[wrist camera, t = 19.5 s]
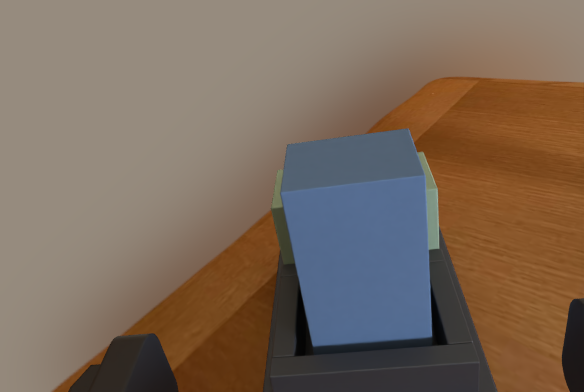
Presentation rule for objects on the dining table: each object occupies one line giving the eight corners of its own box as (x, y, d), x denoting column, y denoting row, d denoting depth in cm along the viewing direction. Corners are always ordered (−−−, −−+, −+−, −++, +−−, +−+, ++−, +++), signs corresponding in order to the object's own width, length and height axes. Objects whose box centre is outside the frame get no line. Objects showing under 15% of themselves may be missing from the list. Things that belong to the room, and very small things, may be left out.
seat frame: (507, 446, 20) (518, 308, 16) (263, 458, 21) (222, 333, 18) (435, 232, 33) (432, 127, 29) (286, 247, 34) (264, 149, 30)
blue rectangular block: (433, 375, 22) (425, 175, 17) (319, 382, 22) (279, 192, 17) (418, 310, 25) (408, 127, 20) (320, 318, 26) (286, 143, 21)
